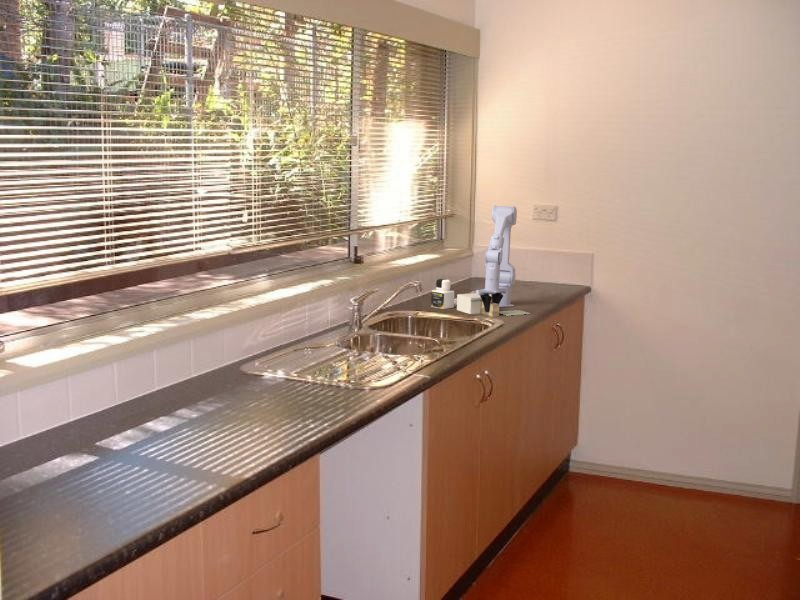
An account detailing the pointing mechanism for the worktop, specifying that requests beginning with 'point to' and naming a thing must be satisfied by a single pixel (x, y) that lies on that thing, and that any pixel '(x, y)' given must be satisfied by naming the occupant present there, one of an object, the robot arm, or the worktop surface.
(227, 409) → the worktop surface
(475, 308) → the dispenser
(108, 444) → the worktop surface
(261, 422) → the worktop surface
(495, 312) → the wooden block
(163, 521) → the worktop surface
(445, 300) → the medicine bottle
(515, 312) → the mat
